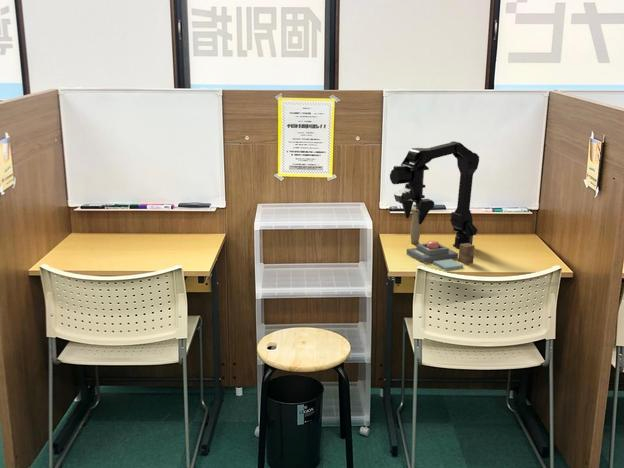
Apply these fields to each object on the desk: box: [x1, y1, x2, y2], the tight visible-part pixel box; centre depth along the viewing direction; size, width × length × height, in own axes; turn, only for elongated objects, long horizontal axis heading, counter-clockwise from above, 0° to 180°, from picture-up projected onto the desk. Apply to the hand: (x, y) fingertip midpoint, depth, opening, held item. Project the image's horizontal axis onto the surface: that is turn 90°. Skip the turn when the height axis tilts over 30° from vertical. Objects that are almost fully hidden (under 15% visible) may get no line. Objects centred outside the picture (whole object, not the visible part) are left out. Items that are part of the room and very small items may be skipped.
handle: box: [410, 206, 421, 245], centre depth 280 cm, size 5×6×15 cm
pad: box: [432, 259, 464, 271], centre depth 255 cm, size 8×8×1 cm
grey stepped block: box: [406, 242, 459, 264], centre depth 266 cm, size 16×12×4 cm
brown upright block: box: [457, 243, 475, 265], centre depth 259 cm, size 4×4×7 cm
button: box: [426, 240, 440, 249], centre depth 265 cm, size 4×4×4 cm
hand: (413, 221), depth 262 cm, fingers open, 9 cm apart
